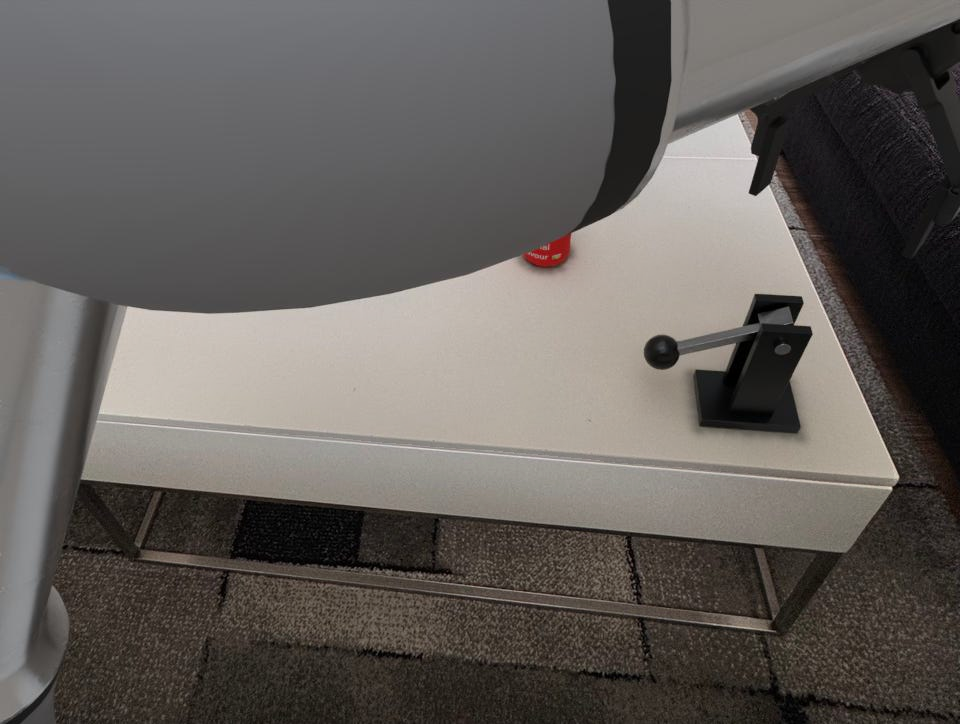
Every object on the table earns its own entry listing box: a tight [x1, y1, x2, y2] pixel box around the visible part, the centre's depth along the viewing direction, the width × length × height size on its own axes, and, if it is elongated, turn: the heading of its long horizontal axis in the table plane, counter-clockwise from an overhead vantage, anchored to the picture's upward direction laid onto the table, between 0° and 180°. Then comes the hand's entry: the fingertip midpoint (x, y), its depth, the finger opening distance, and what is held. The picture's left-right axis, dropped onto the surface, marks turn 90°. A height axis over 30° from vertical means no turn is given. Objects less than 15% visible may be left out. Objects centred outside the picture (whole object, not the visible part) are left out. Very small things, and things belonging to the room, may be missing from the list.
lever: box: [643, 307, 795, 371], centre depth 67 cm, size 14×4×4 cm, turn 84°
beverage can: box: [522, 233, 572, 268], centre depth 87 cm, size 6×6×12 cm
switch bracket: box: [693, 293, 814, 434], centre depth 69 cm, size 10×7×14 cm
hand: (831, 217), depth 60 cm, fingers open, 13 cm apart
